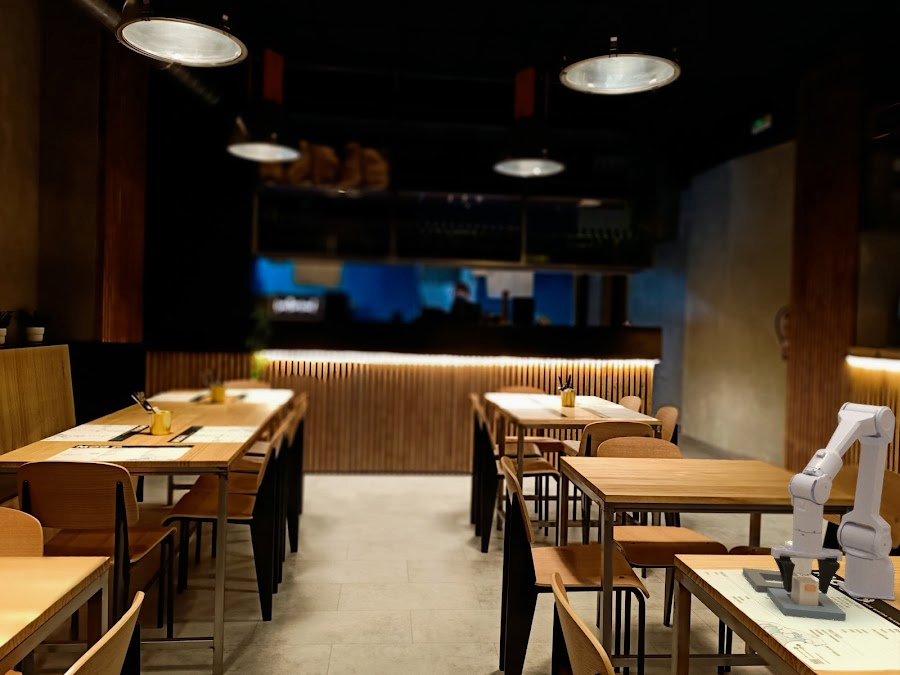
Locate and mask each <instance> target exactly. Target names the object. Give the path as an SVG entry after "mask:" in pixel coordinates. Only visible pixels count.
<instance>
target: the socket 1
mask: <svg viewBox="0 0 900 675" xmlns="http://www.w3.org/2000/svg"><path fill="white" fill-rule="evenodd" d="M742 575H743V577H744V578H745V577H746V578H745V579H746V580H747V581H748V583H749V584H750V585H751V586H752V588H753V589H754V590H755V592H757V593H765V594H767V588H777V589H784V586H783V581H782V577H781V573H780V570H773V569H772V570H771V569H762V568H761V569H759V568H747V567H742ZM793 576H799V575H798V574H796V573H794V572H793ZM773 580H775V581H776V582H772V581H773ZM781 582H782V583H781Z"/></svg>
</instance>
